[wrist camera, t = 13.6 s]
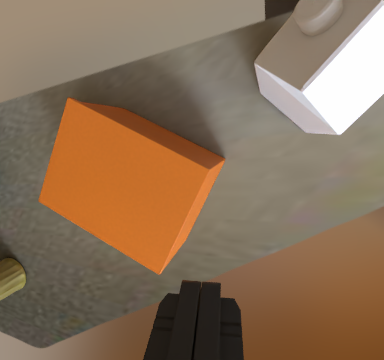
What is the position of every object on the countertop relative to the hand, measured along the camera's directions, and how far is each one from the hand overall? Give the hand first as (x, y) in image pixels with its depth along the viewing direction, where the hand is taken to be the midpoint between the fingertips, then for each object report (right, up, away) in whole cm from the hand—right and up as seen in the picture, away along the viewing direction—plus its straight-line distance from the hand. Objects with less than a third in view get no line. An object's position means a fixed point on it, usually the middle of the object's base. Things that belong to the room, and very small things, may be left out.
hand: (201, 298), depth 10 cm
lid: (-8, +4, +18) cm, 20 cm away
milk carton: (+12, +15, +19) cm, 27 cm away
